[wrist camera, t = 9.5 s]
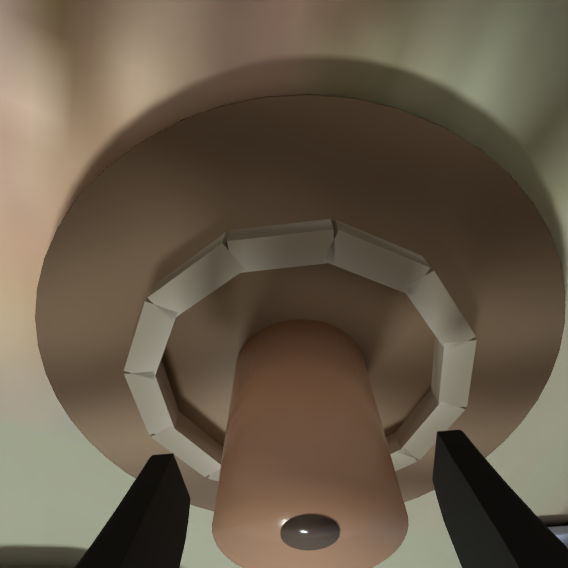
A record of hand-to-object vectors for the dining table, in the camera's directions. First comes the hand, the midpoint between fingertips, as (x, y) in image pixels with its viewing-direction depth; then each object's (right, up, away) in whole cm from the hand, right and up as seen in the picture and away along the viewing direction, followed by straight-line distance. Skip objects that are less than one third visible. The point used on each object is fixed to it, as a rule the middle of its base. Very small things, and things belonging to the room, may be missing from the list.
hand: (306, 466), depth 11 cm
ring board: (0, +2, +4) cm, 4 cm away
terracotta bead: (0, +2, +3) cm, 4 cm away
